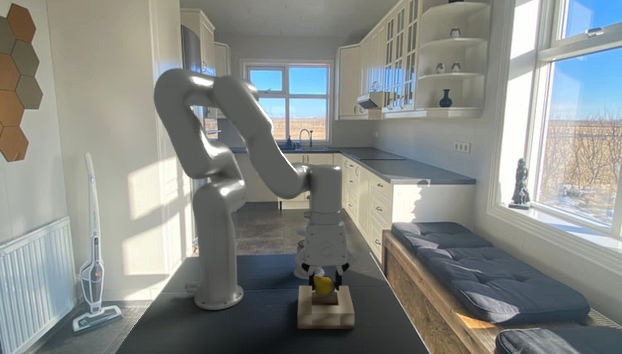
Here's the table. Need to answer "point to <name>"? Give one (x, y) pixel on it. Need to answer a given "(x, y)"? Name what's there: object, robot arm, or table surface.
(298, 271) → the french press
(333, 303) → the socket block
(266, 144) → the robot arm
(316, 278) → the yellow stepped cone
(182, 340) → the table surface
